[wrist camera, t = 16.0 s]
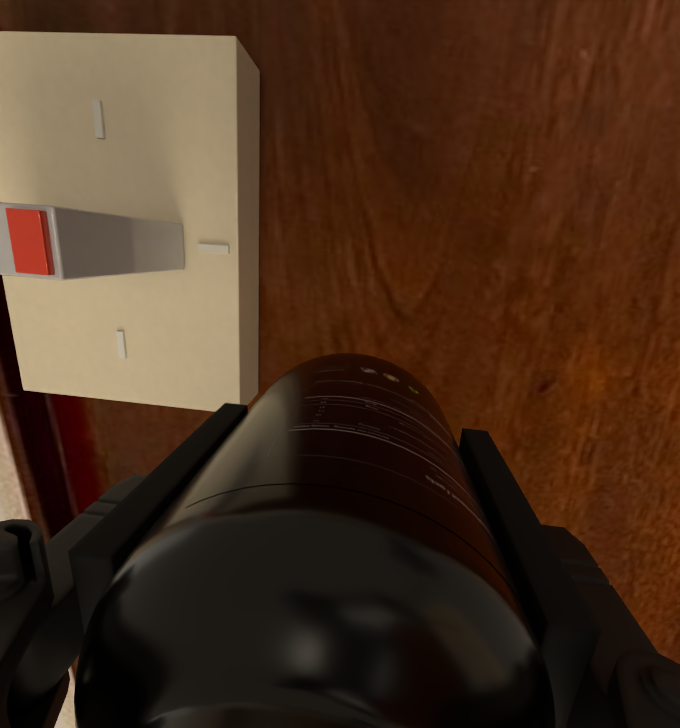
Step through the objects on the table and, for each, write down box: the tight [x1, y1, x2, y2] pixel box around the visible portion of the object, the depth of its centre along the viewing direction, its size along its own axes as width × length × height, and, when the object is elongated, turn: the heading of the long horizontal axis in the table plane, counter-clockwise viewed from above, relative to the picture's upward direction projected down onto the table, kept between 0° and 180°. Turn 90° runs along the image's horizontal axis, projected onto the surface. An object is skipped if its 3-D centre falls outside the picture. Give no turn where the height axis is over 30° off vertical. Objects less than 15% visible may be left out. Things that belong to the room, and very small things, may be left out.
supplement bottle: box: [74, 353, 556, 728], centre depth 8 cm, size 7×7×12 cm
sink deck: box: [0, 31, 260, 411], centre depth 19 cm, size 16×12×3 cm
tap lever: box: [0, 202, 184, 281], centre depth 14 cm, size 7×2×7 cm, turn 86°
